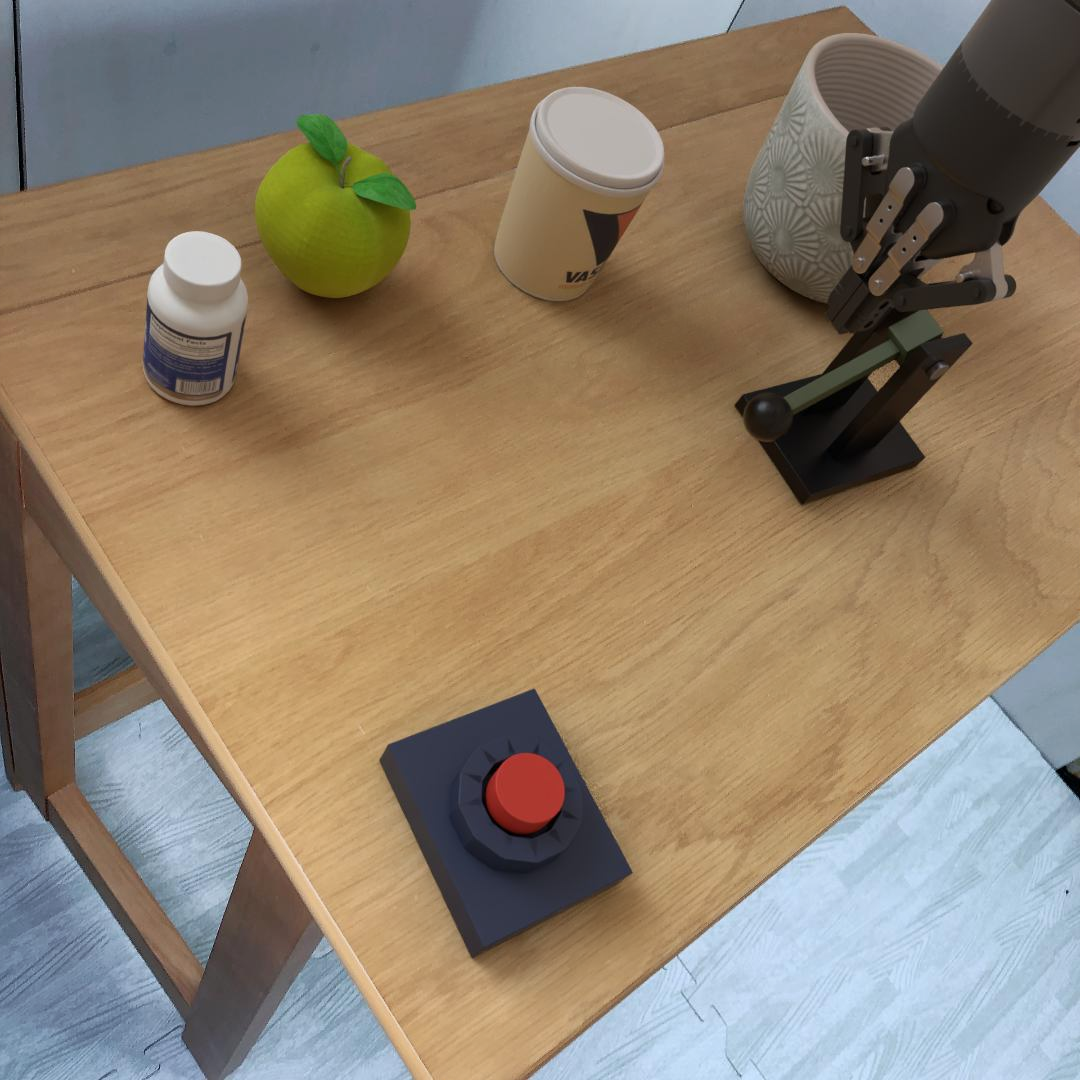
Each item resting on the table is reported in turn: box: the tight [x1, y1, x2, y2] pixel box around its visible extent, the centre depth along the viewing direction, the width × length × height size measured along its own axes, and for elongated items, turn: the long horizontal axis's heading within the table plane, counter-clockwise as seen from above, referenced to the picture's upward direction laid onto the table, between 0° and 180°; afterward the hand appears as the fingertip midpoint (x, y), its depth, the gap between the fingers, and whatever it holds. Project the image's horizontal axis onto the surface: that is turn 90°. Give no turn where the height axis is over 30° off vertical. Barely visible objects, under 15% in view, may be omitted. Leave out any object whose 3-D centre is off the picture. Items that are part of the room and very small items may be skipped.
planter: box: [742, 32, 945, 305], centre depth 89 cm, size 17×17×15 cm
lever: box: [742, 309, 945, 442], centre depth 76 cm, size 14×3×3 cm, turn 119°
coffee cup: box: [493, 86, 665, 302], centre depth 80 cm, size 9×9×12 cm
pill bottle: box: [142, 230, 249, 407], centre depth 65 cm, size 5×5×10 cm
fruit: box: [254, 113, 417, 299], centre depth 73 cm, size 9×9×10 cm
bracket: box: [734, 303, 974, 506], centre depth 80 cm, size 12×9×13 cm
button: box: [486, 753, 565, 834], centre depth 57 cm, size 4×4×2 cm
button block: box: [378, 688, 633, 959], centre depth 59 cm, size 11×9×4 cm
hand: (842, 323), depth 68 cm, fingers closed
